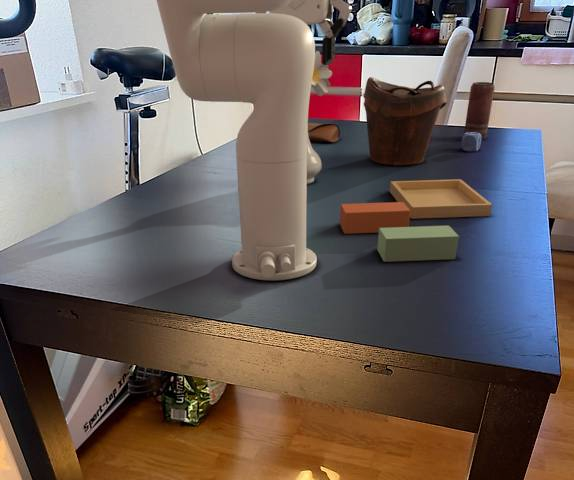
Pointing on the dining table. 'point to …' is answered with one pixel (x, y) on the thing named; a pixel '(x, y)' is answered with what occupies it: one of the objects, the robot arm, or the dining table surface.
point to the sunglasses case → (323, 132)
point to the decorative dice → (471, 141)
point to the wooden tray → (440, 199)
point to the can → (479, 108)
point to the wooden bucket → (401, 120)
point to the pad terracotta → (373, 217)
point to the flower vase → (313, 159)
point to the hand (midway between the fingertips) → (301, 63)
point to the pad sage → (417, 243)
